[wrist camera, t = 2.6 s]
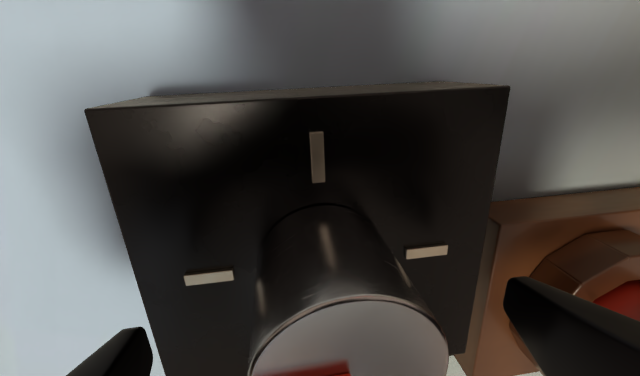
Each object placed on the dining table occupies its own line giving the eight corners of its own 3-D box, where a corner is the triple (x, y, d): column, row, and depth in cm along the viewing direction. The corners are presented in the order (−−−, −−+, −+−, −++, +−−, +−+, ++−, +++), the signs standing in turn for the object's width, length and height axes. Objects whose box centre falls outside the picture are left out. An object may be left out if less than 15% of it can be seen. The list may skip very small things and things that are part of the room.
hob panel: (439, 80, 12) (515, 85, 8) (420, 287, 16) (468, 357, 12) (146, 96, 11) (78, 109, 7) (198, 317, 15) (171, 405, 11)
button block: (654, 184, 16) (772, 220, 12) (603, 323, 19) (684, 385, 15) (469, 203, 14) (536, 249, 11) (448, 347, 18) (494, 421, 14)
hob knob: (386, 198, 9) (472, 294, 5) (382, 305, 11) (447, 445, 7) (249, 211, 9) (228, 328, 5) (264, 321, 10) (258, 483, 6)
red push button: (675, 272, 13) (734, 301, 11) (640, 352, 14) (687, 387, 13) (580, 286, 12) (627, 318, 11) (555, 366, 14) (592, 406, 12)
